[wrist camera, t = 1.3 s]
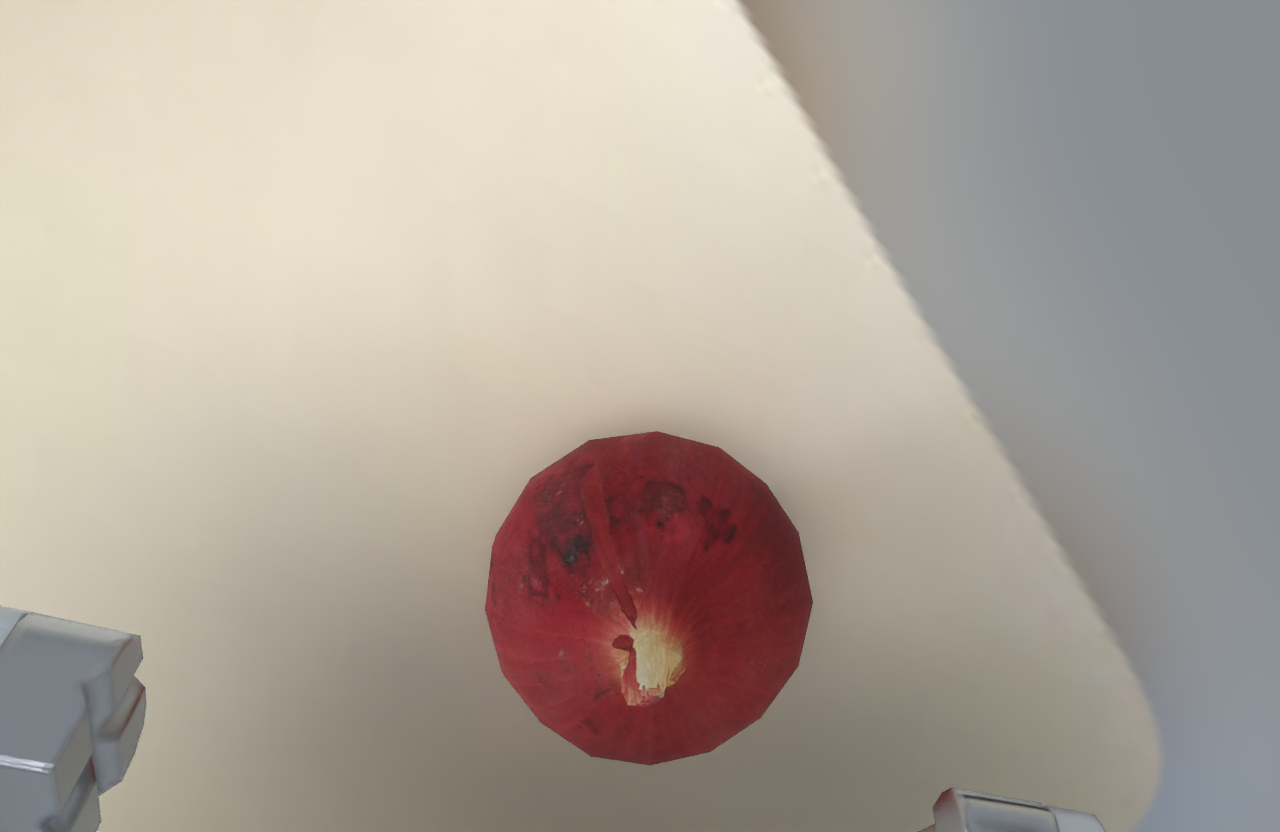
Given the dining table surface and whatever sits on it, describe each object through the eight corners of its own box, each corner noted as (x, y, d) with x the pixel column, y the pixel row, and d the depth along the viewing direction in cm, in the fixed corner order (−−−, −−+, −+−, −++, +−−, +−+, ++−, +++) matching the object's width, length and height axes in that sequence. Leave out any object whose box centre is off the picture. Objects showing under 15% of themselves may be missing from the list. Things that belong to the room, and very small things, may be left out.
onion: (460, 517, 25) (366, 603, 17) (685, 366, 24) (698, 378, 16) (613, 740, 25) (592, 929, 17) (837, 593, 25) (924, 714, 17)
